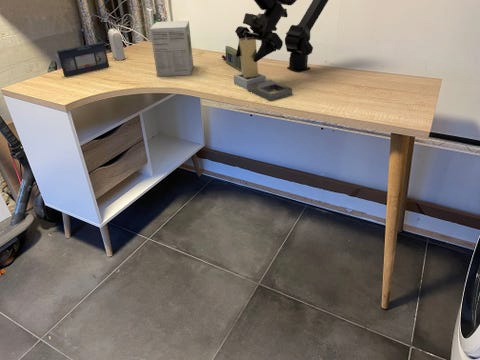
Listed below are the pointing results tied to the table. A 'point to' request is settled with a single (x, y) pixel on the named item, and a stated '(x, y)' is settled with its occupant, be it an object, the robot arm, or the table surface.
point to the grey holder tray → (269, 85)
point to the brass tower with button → (248, 57)
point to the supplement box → (172, 48)
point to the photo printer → (116, 44)
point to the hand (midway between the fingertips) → (245, 58)
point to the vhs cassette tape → (83, 59)
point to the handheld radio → (232, 58)
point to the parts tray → (248, 80)
